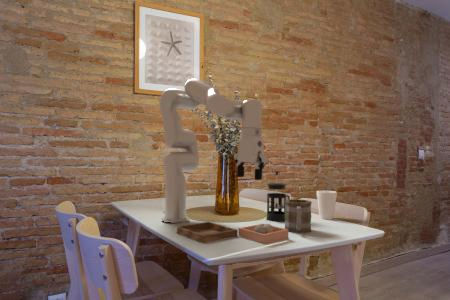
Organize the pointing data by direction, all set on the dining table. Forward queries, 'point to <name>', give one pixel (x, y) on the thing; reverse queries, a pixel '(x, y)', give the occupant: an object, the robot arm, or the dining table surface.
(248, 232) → the terracotta dish
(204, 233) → the walnut tray
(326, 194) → the foam cup
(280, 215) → the french press
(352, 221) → the dining table surface
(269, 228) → the beige ball
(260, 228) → the grey ball
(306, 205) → the mug
